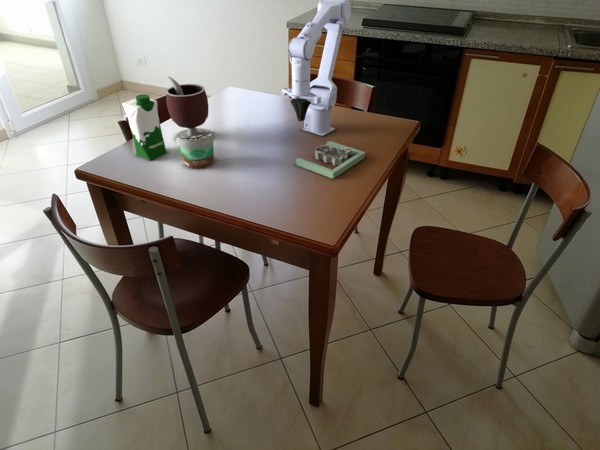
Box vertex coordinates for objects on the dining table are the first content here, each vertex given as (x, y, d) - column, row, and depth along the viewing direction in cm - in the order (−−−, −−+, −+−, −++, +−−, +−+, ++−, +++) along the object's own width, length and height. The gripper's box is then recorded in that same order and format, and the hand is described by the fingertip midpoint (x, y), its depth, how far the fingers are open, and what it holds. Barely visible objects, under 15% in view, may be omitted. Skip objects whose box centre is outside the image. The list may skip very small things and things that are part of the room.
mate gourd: (220, 135, 155) (213, 80, 143) (190, 148, 146) (180, 90, 135) (193, 125, 163) (184, 72, 151) (163, 136, 154) (151, 81, 143)
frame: (296, 165, 135) (296, 159, 134) (329, 146, 147) (329, 140, 145) (333, 178, 128) (333, 173, 127) (364, 157, 139) (365, 152, 138)
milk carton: (149, 162, 138) (135, 102, 126) (132, 155, 142) (116, 96, 130) (170, 152, 143) (158, 94, 132) (153, 146, 148) (140, 88, 136)
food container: (185, 174, 131) (180, 144, 125) (180, 166, 135) (174, 136, 130) (223, 165, 136) (219, 136, 130) (217, 157, 140) (213, 129, 134)
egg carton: (351, 160, 138) (351, 148, 136) (336, 168, 133) (337, 156, 131) (325, 150, 144) (326, 139, 141) (311, 157, 139) (311, 146, 137)
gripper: (275, 77, 135) (277, 118, 143) (311, 86, 127) (311, 129, 135) (289, 72, 139) (290, 112, 147) (325, 80, 132) (324, 122, 139)
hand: (301, 120), depth 141 cm, fingers closed
